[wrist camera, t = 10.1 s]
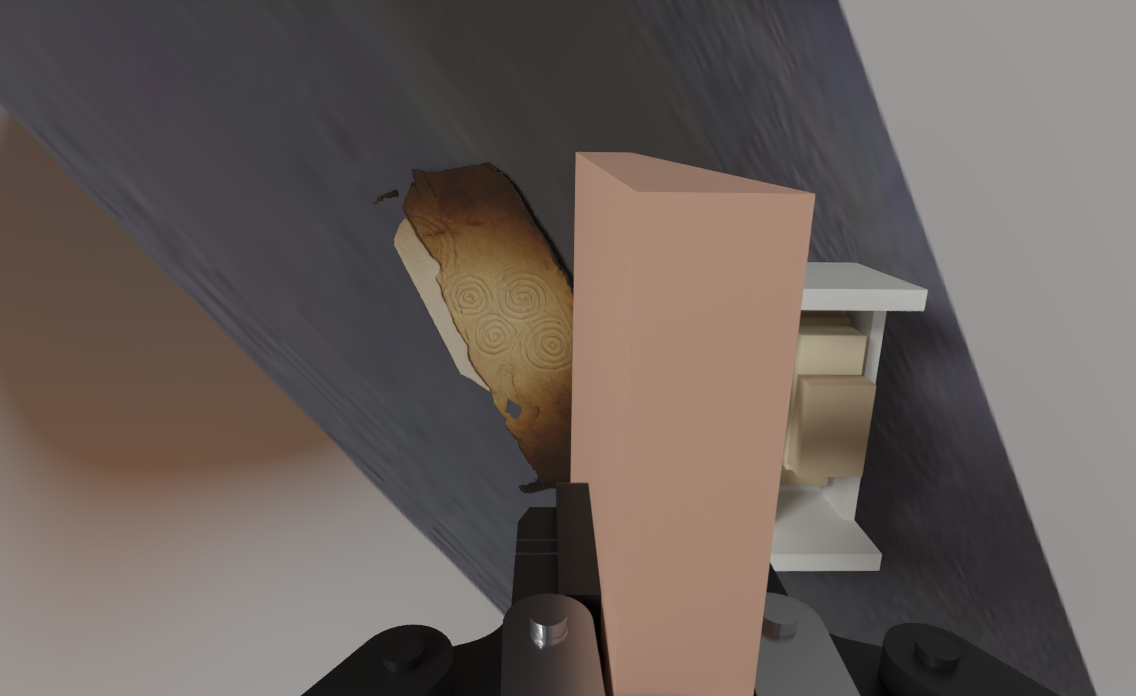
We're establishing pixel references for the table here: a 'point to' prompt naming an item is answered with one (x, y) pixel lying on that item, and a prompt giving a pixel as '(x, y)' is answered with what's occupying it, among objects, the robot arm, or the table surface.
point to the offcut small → (830, 425)
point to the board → (682, 410)
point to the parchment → (496, 302)
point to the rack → (826, 513)
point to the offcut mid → (824, 359)
